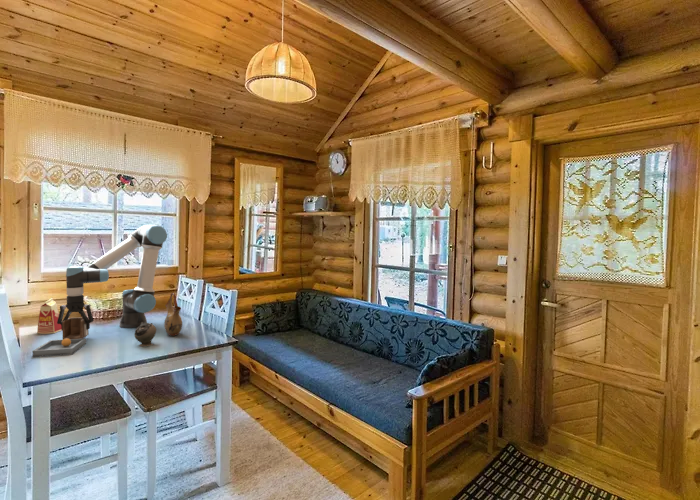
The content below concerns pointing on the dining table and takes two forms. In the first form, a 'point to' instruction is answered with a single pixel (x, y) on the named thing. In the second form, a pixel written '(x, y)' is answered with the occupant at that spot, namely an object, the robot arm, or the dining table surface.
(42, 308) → the milk carton
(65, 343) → the ball
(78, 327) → the brown open box
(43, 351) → the tray
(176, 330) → the ceramic vessel
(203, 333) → the dining table surface
